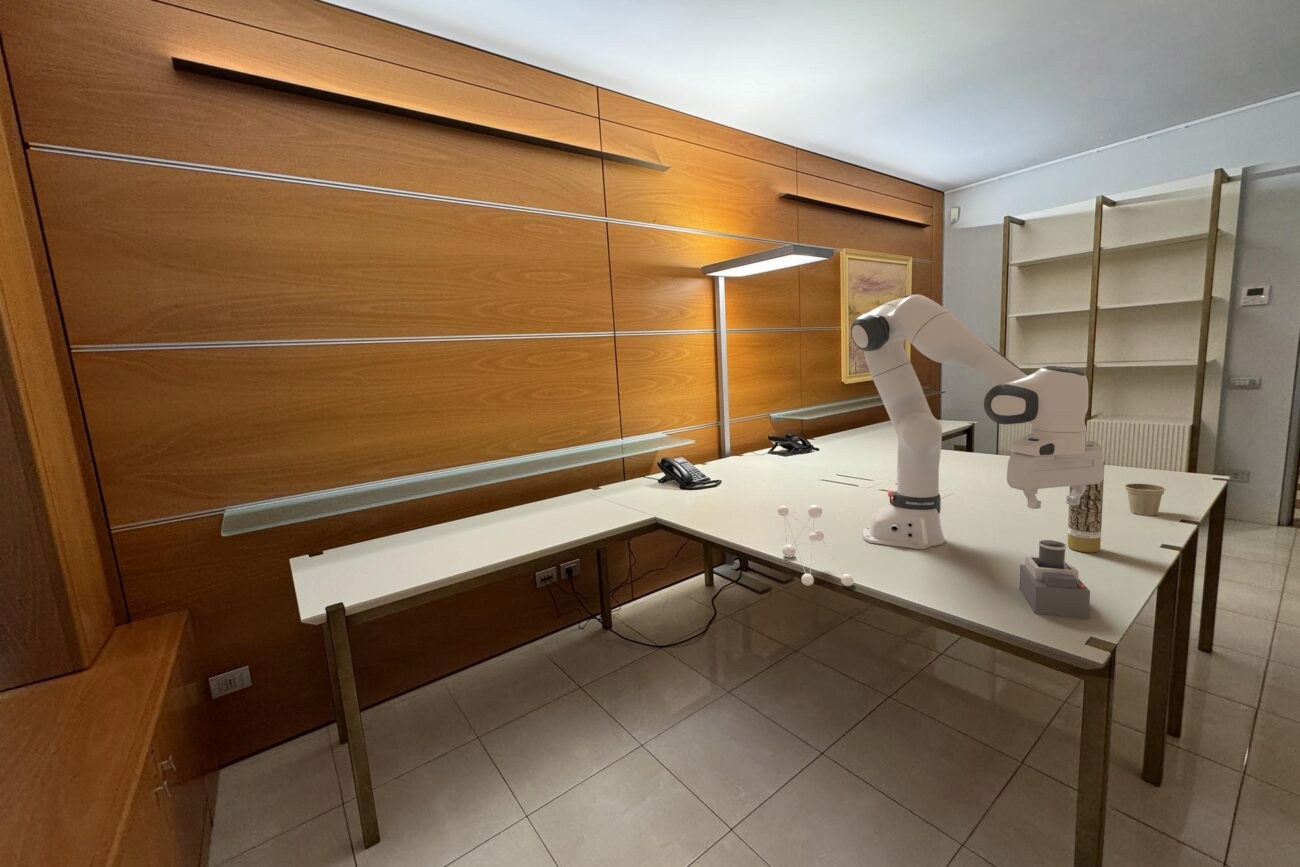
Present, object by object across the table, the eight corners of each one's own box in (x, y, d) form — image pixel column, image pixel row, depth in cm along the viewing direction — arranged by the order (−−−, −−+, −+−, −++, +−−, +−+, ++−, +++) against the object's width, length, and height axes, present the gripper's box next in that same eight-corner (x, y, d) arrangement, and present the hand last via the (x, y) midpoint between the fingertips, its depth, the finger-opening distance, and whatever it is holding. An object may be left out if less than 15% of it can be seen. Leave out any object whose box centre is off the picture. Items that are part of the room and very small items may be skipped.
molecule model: (807, 557, 149) (822, 500, 147) (851, 598, 125) (870, 529, 123) (762, 551, 147) (777, 492, 145) (798, 591, 123) (816, 521, 120)
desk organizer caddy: (1088, 618, 103) (1090, 579, 102) (1035, 613, 107) (1036, 575, 106) (1067, 593, 114) (1068, 557, 113) (1019, 589, 118) (1020, 554, 116)
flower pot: (1137, 518, 157) (1139, 490, 156) (1115, 509, 166) (1117, 483, 165) (1173, 517, 156) (1174, 490, 155) (1148, 508, 165) (1150, 482, 164)
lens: (1032, 571, 113) (1033, 541, 112) (1050, 569, 113) (1051, 539, 112) (1051, 579, 108) (1052, 548, 107) (1070, 577, 109) (1071, 546, 108)
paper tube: (1106, 553, 133) (1111, 460, 130) (1076, 553, 135) (1080, 461, 131) (1089, 544, 140) (1093, 455, 137) (1061, 544, 141) (1065, 456, 138)
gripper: (1086, 437, 112) (1081, 498, 114) (1002, 444, 109) (999, 506, 111) (1116, 442, 105) (1110, 506, 107) (1028, 448, 103) (1024, 514, 105)
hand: (1053, 506), depth 109 cm, fingers open, 8 cm apart
